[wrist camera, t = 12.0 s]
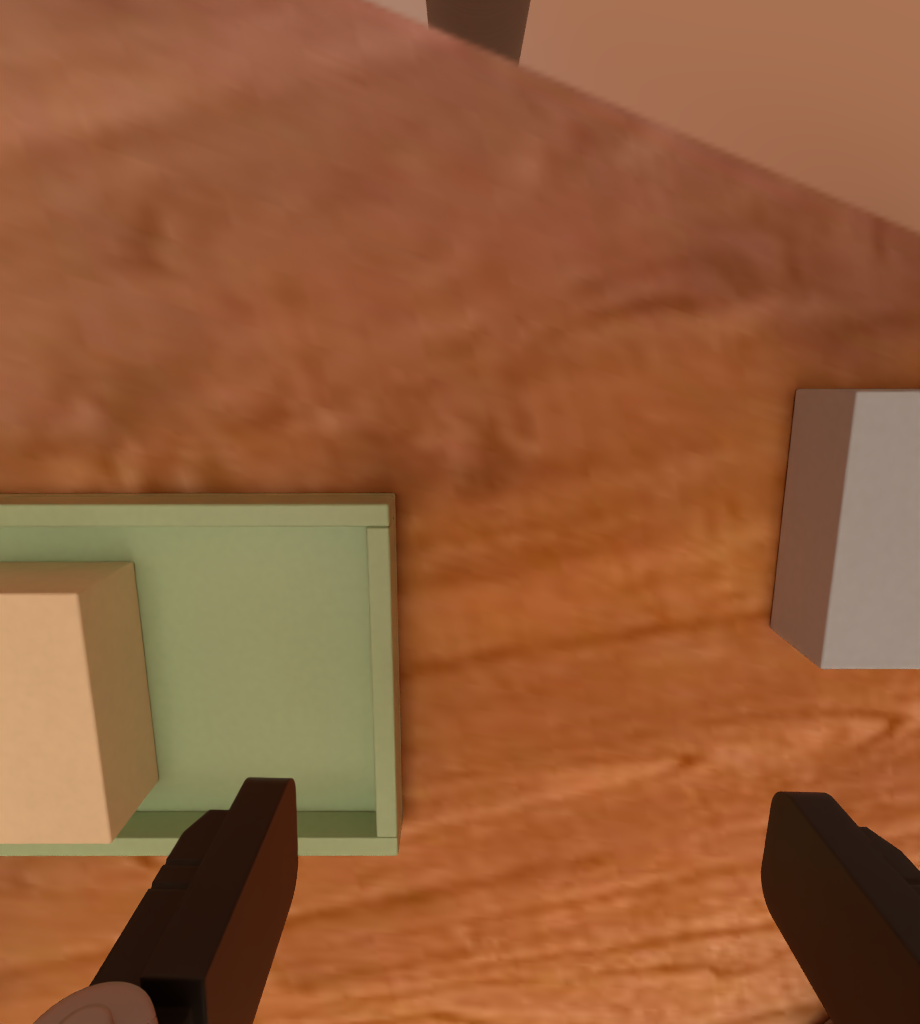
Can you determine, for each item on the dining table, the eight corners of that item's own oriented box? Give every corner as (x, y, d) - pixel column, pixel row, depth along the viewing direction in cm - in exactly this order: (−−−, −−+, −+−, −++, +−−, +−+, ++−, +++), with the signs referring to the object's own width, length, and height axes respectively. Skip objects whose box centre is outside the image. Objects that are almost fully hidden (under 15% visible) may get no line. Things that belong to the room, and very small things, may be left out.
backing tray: (-114, 493, 23) (-170, 504, 21) (395, 492, 23) (389, 504, 21) (-49, 818, 26) (-94, 856, 24) (403, 818, 26) (397, 856, 24)
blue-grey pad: (795, 388, 22) (856, 390, 19) (937, 388, 22) (1024, 390, 19) (769, 628, 24) (820, 670, 20) (900, 627, 24) (973, 669, 20)
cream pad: (-3, 561, 23) (-85, 593, 19) (134, 561, 23) (76, 593, 19) (33, 780, 25) (-36, 845, 21) (159, 780, 25) (111, 844, 21)
